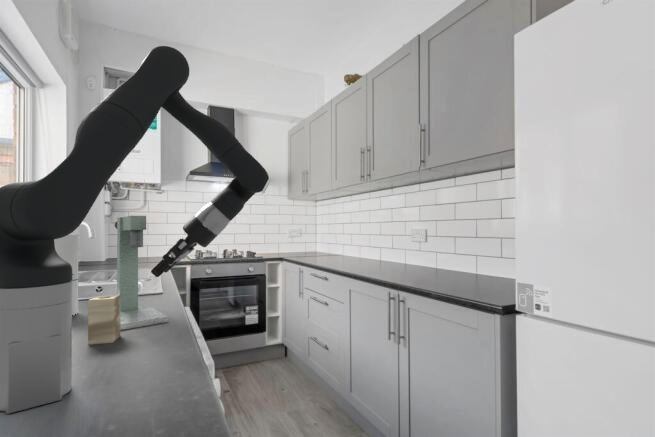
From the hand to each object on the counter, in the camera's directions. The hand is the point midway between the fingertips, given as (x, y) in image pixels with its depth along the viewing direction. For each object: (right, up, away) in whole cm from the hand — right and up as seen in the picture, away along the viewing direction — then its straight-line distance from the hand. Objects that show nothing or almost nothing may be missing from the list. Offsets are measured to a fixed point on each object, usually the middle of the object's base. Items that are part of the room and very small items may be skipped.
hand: (158, 272), depth 85 cm
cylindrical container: (-41, -17, +24) cm, 50 cm away
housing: (-11, -15, -3) cm, 19 cm away
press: (-19, -16, +21) cm, 33 cm away
